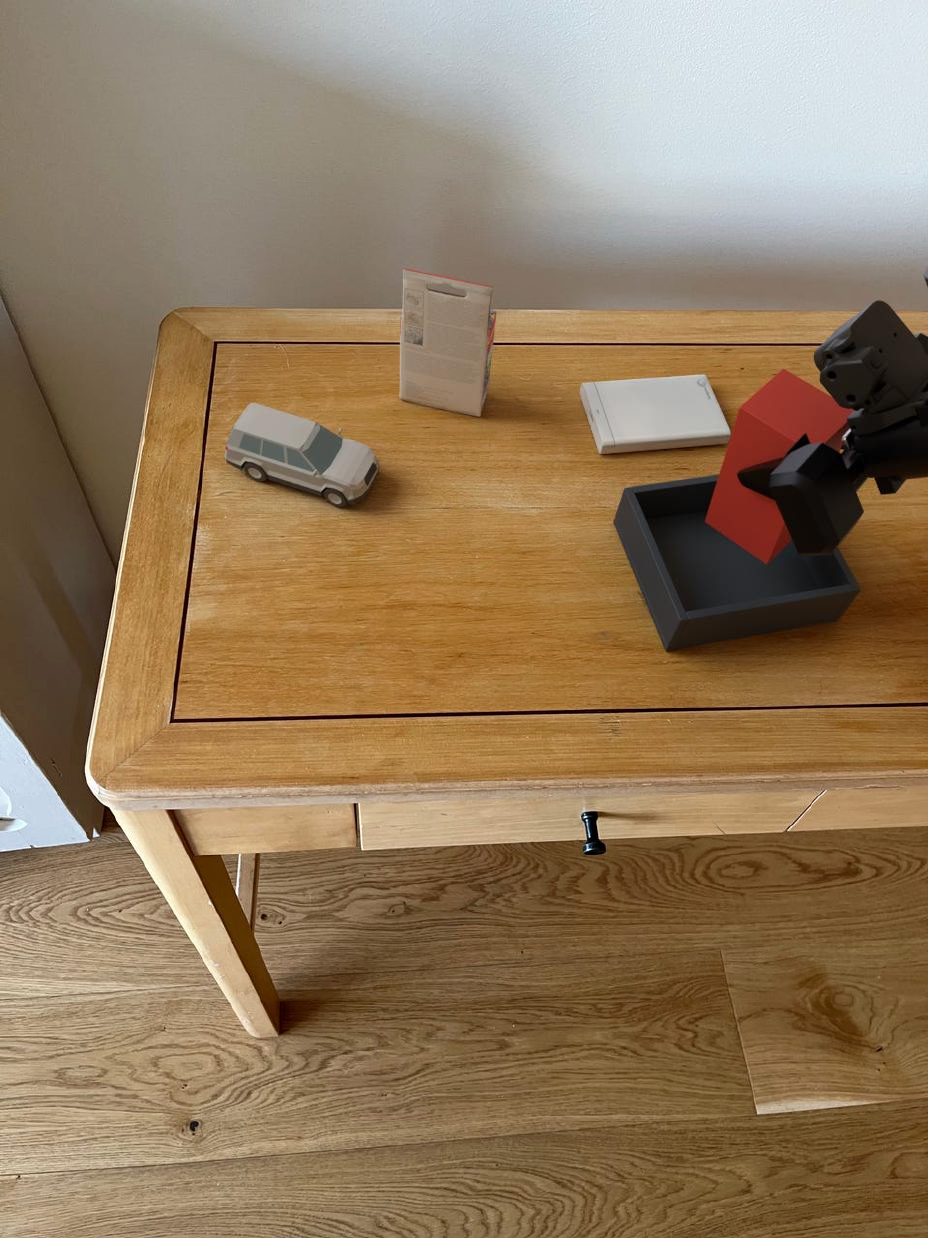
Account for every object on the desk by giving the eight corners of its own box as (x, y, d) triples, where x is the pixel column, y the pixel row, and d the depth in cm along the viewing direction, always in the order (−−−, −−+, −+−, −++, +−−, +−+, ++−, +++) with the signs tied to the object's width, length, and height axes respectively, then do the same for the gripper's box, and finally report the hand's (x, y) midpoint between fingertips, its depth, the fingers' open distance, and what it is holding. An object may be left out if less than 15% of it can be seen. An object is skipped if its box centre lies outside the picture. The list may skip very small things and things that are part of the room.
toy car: (360, 517, 79) (358, 479, 75) (224, 473, 81) (215, 433, 77) (385, 471, 82) (385, 431, 78) (253, 429, 84) (246, 388, 80)
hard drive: (705, 372, 90) (581, 380, 88) (732, 433, 86) (603, 443, 84) (700, 384, 91) (578, 393, 89) (726, 446, 87) (599, 456, 85)
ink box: (408, 375, 89) (411, 241, 77) (488, 393, 89) (504, 261, 76) (397, 402, 87) (399, 268, 75) (480, 420, 87) (495, 289, 74)
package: (804, 527, 73) (858, 411, 62) (766, 565, 72) (814, 453, 61) (742, 486, 76) (783, 367, 65) (704, 521, 74) (739, 406, 63)
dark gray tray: (773, 498, 84) (791, 463, 80) (838, 621, 77) (862, 589, 73) (612, 522, 81) (623, 487, 77) (665, 651, 74) (680, 620, 70)
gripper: (1002, 230, 57) (783, 297, 70) (863, 382, 48) (643, 427, 61) (1049, 390, 61) (834, 426, 74) (929, 556, 53) (709, 564, 65)
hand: (760, 456), depth 68 cm, fingers closed on package, 5 cm apart
